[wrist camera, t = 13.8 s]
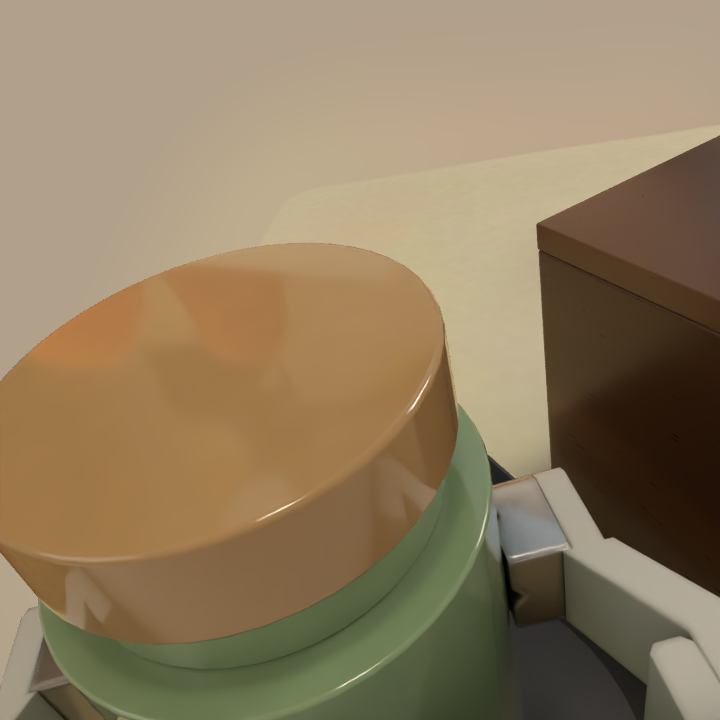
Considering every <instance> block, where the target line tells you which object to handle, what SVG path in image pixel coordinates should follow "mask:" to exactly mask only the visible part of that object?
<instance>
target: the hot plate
mask: <svg viewBox="0 0 720 720" xmlns="http://www.w3.org/2000/svg"><path fill="white" fill-rule="evenodd" d="M488 459H489V462H490V467H491V475H492V482H493V485H496V484H500V483H503V482H507V481H510V480H514V479H515V478H514V477H512V476H511V475H510V474H509V473H508V472H507V471H506V470H505V469H503V468H502V467H501V466H500V465H499V464H498V463H497V462H496V461H494V460H493V459H492V458H491V457H490V456H489V455H488ZM510 616H511V623H512V631H513V638H514V646H515V653H516V660H517V668H518V675H519V683H520V690H521V698H522V705H523V712H524V720H644V713H645V702H646V691H647V685H646V684H645V683H643V682H642V681H641V680H640V679H639V678H637V677H636V676H635V675H634V674H632V673H631V672H630V671H629V670H627V669H626V668H625V667H624V666H623V665H621V664H620V663H619V662H618V661H616V660H615V659H614V658H613V657H611V656H610V655H609V654H608V653H606V652H605V651H604V650H603V649H602V648H600V647H599V646H598V645H597V644H595V643H594V642H593V641H592V640H590V639H589V638H588V637H587V636H585V635H584V634H583V633H582V632H581V631H579V630H578V629H577V628H576V627H574V626H573V625H572V624H571V623H569V622H568V621H567V620H566V618H562V619H558V620H554V621H550V622H546V623H541V624H537V625H533V626H529V627H525V628H521V629H517V627H516V625H515V622H514V620H513V617H512V615H511V612H510Z"/></svg>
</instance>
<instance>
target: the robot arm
mask: <svg viewBox="0 0 720 720" xmlns="http://www.w3.org/2000/svg"><path fill="white" fill-rule="evenodd" d="M493 490H494V497H495V504H496V512H497V519H498V527H499V534H500V542H501V549H502V556H503V564H504V571H505V579H506V586H507V594H508V601H509V608H510V612H511V615H512V617H513V620H514V622H515V625H516V627H517V629H521V628H525V627H529V626H533V625H537V624H541V623H546V622H550V621H554V620H558V619H562V618H566V620H567V621H568V622H569V623H571V624H572V625H573V626H574V627H576V628H577V629H578V630H579V631H581V632H582V633H583V634H584V635H585V636H587V637H588V638H589V639H590V640H592V641H593V642H594V643H595V644H597V645H598V646H599V647H600V648H602V649H603V650H604V651H605V652H606V653H608V654H609V655H610V656H611V657H613V658H614V659H615V660H616V661H618V662H619V663H620V664H621V665H623V666H624V667H625V668H626V669H627V670H629V671H630V672H631V673H632V674H634V675H635V676H636V677H637V678H639V679H640V680H641V681H642V682H643V683H645V684H646V685H647V691H646V702H645V713H644V720H720V598H719V597H718V596H716V595H714V594H712V593H711V592H709V591H707V590H705V589H704V588H702V587H700V586H698V585H696V584H695V583H693V582H691V581H689V580H688V579H686V578H684V577H682V576H681V575H679V574H677V573H675V572H673V571H672V570H670V569H668V568H666V567H665V566H663V565H661V564H659V563H658V562H656V561H654V560H652V559H650V558H649V557H647V556H645V555H643V554H642V553H640V552H638V551H636V550H635V549H633V548H631V547H629V546H627V545H626V544H624V543H622V542H620V541H619V540H617V539H615V538H613V537H612V538H608V539H604V538H603V536H602V534H601V533H600V531H599V529H598V527H597V526H596V524H595V522H594V521H593V519H592V517H591V515H590V514H589V512H588V510H587V509H586V507H585V505H584V503H583V502H582V500H581V498H580V497H579V495H578V493H577V491H576V490H575V488H574V486H573V485H572V483H571V481H570V479H569V478H568V476H567V474H566V473H565V471H564V470H562V469H561V468H560V467H559V468H556V469H552V470H548V471H545V472H541V473H537V474H533V475H532V476H531V475H528V476H524V477H521V478H517V479H514V480H510V481H507V482H503V483H500V484H496V485H493ZM0 720H104V719H103V718H102V717H101V716H100V715H99V714H98V713H97V712H96V710H95V709H94V708H93V707H92V706H91V705H90V704H89V703H88V702H87V701H86V699H85V698H84V697H83V696H82V695H81V694H80V693H79V692H78V691H77V690H76V688H75V687H74V686H73V685H72V684H71V683H70V682H69V680H68V679H67V678H66V676H65V675H64V674H63V672H62V671H61V670H60V668H59V667H58V666H57V664H56V663H55V661H54V659H53V657H52V655H51V653H50V650H49V648H48V646H47V644H46V642H45V639H44V635H43V631H42V626H41V622H40V618H39V606H38V607H34V608H29V609H28V610H27V611H26V613H25V614H24V615H23V617H22V618H21V621H20V624H19V628H18V631H17V634H16V638H15V640H14V644H13V647H12V650H11V653H10V657H9V660H8V663H7V667H6V670H5V673H4V676H3V680H2V683H1V686H0Z"/></svg>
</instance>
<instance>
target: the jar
mask: <svg viewBox="0 0 720 720" xmlns="http://www.w3.org/2000/svg"><path fill="white" fill-rule="evenodd" d="M0 553H1V554H2V555H3V556H4V557H5V558H6V560H7V561H8V562H9V563H10V564H11V566H12V567H13V568H14V569H15V570H16V572H17V573H18V574H19V575H20V576H21V577H22V579H23V580H24V581H25V582H26V583H27V585H28V586H29V587H30V588H31V589H32V591H33V592H34V593H35V594H36V595H37V597H38V604H39V618H40V622H41V626H42V631H43V635H44V639H45V642H46V644H47V646H48V648H49V650H50V653H51V655H52V657H53V659H54V661H55V663H56V664H57V666H58V667H59V668H60V670H61V671H62V672H63V674H64V675H65V676H66V678H67V679H68V680H69V682H70V683H71V684H72V685H73V686H74V687H75V688H76V690H77V691H78V692H79V693H80V694H81V695H82V696H83V697H84V698H85V699H86V701H87V702H88V703H89V704H90V705H91V706H92V707H93V708H94V709H95V710H96V712H97V713H98V714H99V715H100V716H101V717H102V718H103V719H104V720H524V712H523V705H522V698H521V690H520V683H519V675H518V668H517V660H516V653H515V646H514V638H513V631H512V623H511V616H510V608H509V601H508V594H507V586H506V579H505V571H504V564H503V556H502V549H501V542H500V534H499V527H498V519H497V512H496V504H495V497H494V490H493V482H492V475H491V467H490V462H489V459H488V455H487V452H486V448H485V445H484V442H483V440H482V438H481V436H480V434H479V432H478V430H477V428H476V426H475V424H474V423H473V422H472V420H471V419H470V417H469V416H468V415H467V413H466V412H465V411H464V409H463V408H462V407H461V406H460V405H459V404H458V403H457V398H456V391H455V385H454V379H453V373H452V367H451V361H450V355H449V349H448V342H447V336H446V330H445V324H444V321H443V317H442V313H441V310H440V307H439V305H438V303H437V301H436V299H435V297H434V296H433V294H432V292H431V291H430V289H429V288H428V287H427V286H426V285H425V284H424V283H423V281H422V280H421V279H420V278H419V277H418V276H417V275H416V274H414V273H413V272H412V271H410V270H409V269H408V268H406V267H405V266H404V265H402V264H400V263H398V262H396V261H394V260H392V259H390V258H389V257H386V256H383V255H380V254H378V253H375V252H372V251H368V250H364V249H360V248H356V247H351V246H344V245H336V244H324V243H288V244H277V245H267V246H260V247H254V248H247V249H241V250H237V251H232V252H228V253H223V254H219V255H215V256H211V257H208V258H204V259H200V260H197V261H194V262H191V263H188V264H184V265H181V266H179V267H175V268H173V269H170V270H167V271H165V272H162V273H160V274H157V275H155V276H152V277H149V278H148V279H145V280H143V281H141V282H139V283H136V284H134V285H132V286H130V287H127V288H125V289H123V290H121V291H119V292H118V293H116V294H114V295H112V296H110V297H108V298H106V299H104V300H102V301H100V302H99V303H97V304H95V305H94V306H92V307H90V308H89V309H87V310H85V311H83V312H82V313H80V314H79V315H77V316H76V317H75V318H73V319H71V320H70V321H69V322H67V323H65V324H64V325H62V326H61V327H59V328H58V329H57V330H56V331H54V332H53V333H52V334H50V335H49V336H48V337H46V338H45V339H44V340H42V341H41V342H40V343H39V344H38V345H37V346H35V347H34V348H33V349H32V350H31V351H30V352H29V353H27V354H26V355H25V356H24V357H23V358H22V359H21V360H20V361H19V362H18V363H17V364H16V365H15V366H14V367H13V368H12V369H11V370H10V371H9V372H8V373H7V374H6V375H5V376H4V377H3V379H2V380H1V381H0Z"/></svg>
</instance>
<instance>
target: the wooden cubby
mask: <svg viewBox="0 0 720 720" xmlns="http://www.w3.org/2000/svg"><path fill="white" fill-rule="evenodd" d="M536 227H537V244H538V249H539V267H540V284H541V301H542V318H543V335H544V352H545V369H546V386H547V403H548V419H549V436H550V453H551V470H552V469H556V468H559V467H560V468H561V469H562V470H564V471H565V473H566V474H567V476H568V478H569V479H570V481H571V483H572V485H573V486H574V488H575V490H576V491H577V493H578V495H579V497H580V498H581V500H582V502H583V503H584V505H585V507H586V509H587V510H588V512H589V514H590V515H591V517H592V519H593V521H594V522H595V524H596V526H597V527H598V529H599V531H600V533H601V534H602V536H603V538H604V539H608V538H612V537H613V538H615V539H617V540H619V541H620V542H622V543H624V544H626V545H627V546H629V547H631V548H633V549H635V550H636V551H638V552H640V553H642V554H643V555H645V556H647V557H649V558H650V559H652V560H654V561H656V562H658V563H659V564H661V565H663V566H665V567H666V568H668V569H670V570H672V571H673V572H675V573H677V574H679V575H681V576H682V577H684V578H686V579H688V580H689V581H691V582H693V583H695V584H696V585H698V586H700V587H702V588H704V589H705V590H707V591H709V592H711V593H712V594H714V595H716V596H718V597H719V598H720V136H718V137H716V138H713V139H711V140H709V141H707V142H705V143H703V144H701V145H699V146H697V147H695V148H693V149H691V150H689V151H686V152H684V153H682V154H680V155H678V156H676V157H674V158H672V159H670V160H668V161H666V162H664V163H662V164H659V165H657V166H655V167H653V168H651V169H649V170H647V171H645V172H643V173H641V174H639V175H637V176H635V177H632V178H630V179H628V180H626V181H624V182H622V183H620V184H618V185H616V186H614V187H612V188H610V189H608V190H605V191H603V192H601V193H599V194H597V195H595V196H593V197H591V198H589V199H587V200H585V201H583V202H581V203H578V204H576V205H574V206H572V207H570V208H568V209H566V210H564V211H562V212H560V213H558V214H556V215H554V216H551V217H549V218H547V219H545V220H543V221H541V222H539V223H537V225H536Z"/></svg>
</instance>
